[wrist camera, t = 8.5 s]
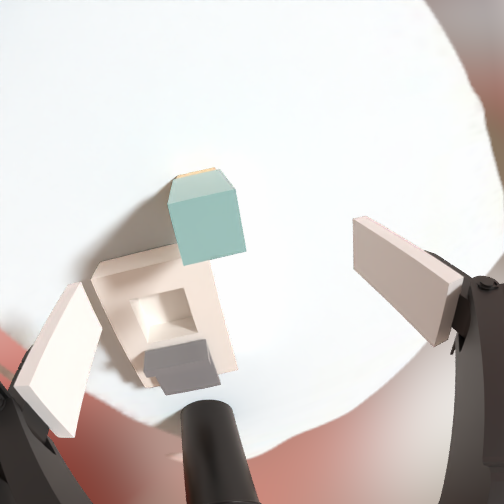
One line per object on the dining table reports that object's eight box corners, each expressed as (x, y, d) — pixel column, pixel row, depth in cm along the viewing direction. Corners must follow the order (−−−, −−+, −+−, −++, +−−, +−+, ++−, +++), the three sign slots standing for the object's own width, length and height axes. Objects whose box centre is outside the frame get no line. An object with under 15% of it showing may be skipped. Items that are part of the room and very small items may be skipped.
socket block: (99, 262, 30) (90, 279, 26) (204, 236, 31) (207, 251, 28) (146, 366, 37) (145, 388, 33) (232, 348, 38) (238, 369, 35)
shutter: (145, 351, 31) (143, 371, 28) (205, 338, 31) (208, 358, 29) (165, 390, 34) (166, 410, 31) (219, 380, 34) (223, 399, 32)
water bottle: (176, 431, 44) (190, 551, 23) (174, 396, 40) (189, 540, 19) (234, 429, 46) (264, 544, 26) (241, 395, 43) (281, 530, 22)
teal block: (174, 174, 28) (167, 204, 18) (216, 165, 29) (235, 189, 18) (183, 214, 30) (183, 266, 19) (223, 205, 31) (246, 251, 20)
